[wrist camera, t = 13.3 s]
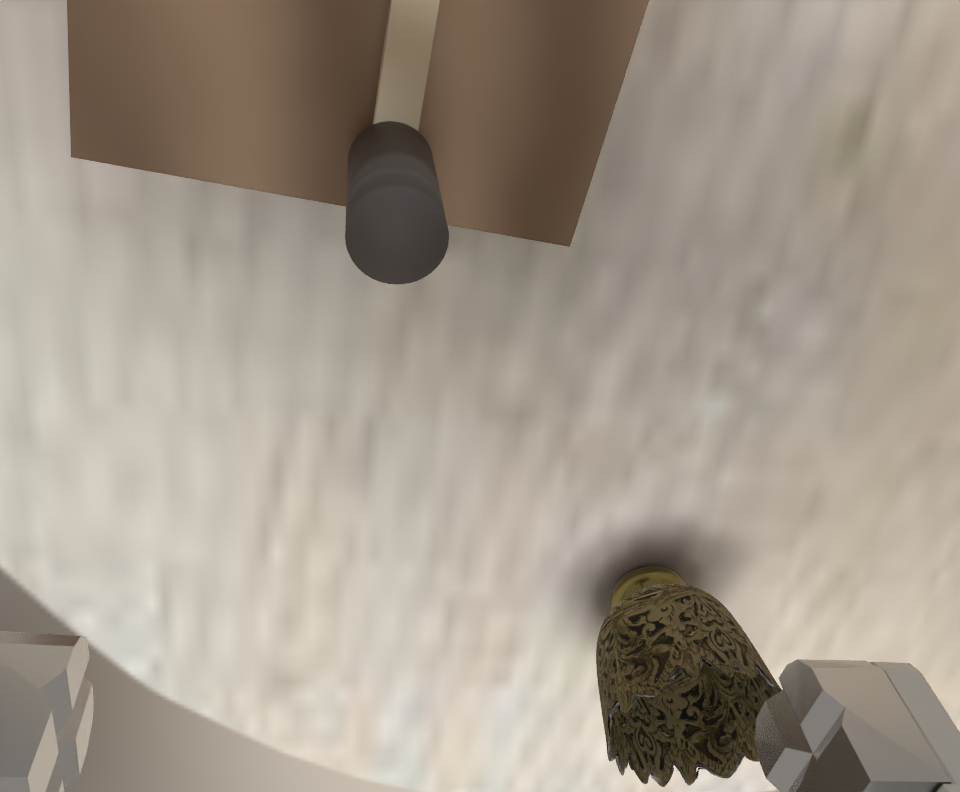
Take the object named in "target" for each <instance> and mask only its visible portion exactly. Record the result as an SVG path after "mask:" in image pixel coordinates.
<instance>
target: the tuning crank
mask: <svg viewBox="0 0 960 792" xmlns="http://www.w3.org/2000/svg"><path fill="white" fill-rule="evenodd" d="M439 3H440V0H390V4H389V11H388V19H387V26H386V33H385V41H384V48H383V55H382V63H381V70H380V77H379V84H378V92H377V99H376V106H375V114H374V121H373V125H371V126H369V127H367V128H366V129H364V130H363V131H362V132H361V133H360V134H359V135H358V136H357V137H356V139H355V140H354V141H353V143H352V145H351V148H350V151H349V155H348V171H347V202H346V232H345V239H346V246H347V250H348V252H349V255H350V257H351V259H352V261H353V262H354V263H355V265H356V266H357V267H358V268H359V269H360V270H361V271H362V272H363V273H365V274H366V275H368V276H369V277H371V278H373V279H375V280H377V281H380V282H383V283H388V284H406V283H411V282H414V281H417V280H419V279H422V278H424V277H425V276H427V275H428V274H430V273H431V272H432V271H433V270H434V269H435V268H436V267H437V266H438V265H439V264H440V262H441V261H442V259H443V257H444V255H445V253H446V250H447V247H448V240H449V232H448V226H447V221H446V217H445V212H444V207H443V202H442V198H441V193H440V188H439V183H438V178H437V174H436V169H435V164H434V159H433V155H432V151H431V148H430V146H429V144H428V142H427V141H426V139H425V138H424V137H423V136H422V135H421V134H420V133H419V132H418V129H419V123H420V117H421V111H422V105H423V99H424V93H425V87H426V81H427V75H428V69H429V63H430V57H431V51H432V45H433V39H434V33H435V27H436V21H437V15H438V9H439Z"/></svg>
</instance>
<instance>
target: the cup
mask: <svg viewBox="0 0 960 792" xmlns="http://www.w3.org/2000/svg"><path fill="white" fill-rule="evenodd" d="M596 664H597V677H598V686H599V694H600V701H601V708H602V715H603V722H604V728H605V735H606V742H607V753H608V759H609V761H613V759H615V758H616V763H617V766H618V768H619V771H620V773H621V775H624V770H625V769H626V768H627V766H628V763H629V765H630V768H631V769H632V770H634V771H635V773H636V775H637V776H638V778H639V779H640V780H641V782H642V783H644V784H647V783H648V778H649V776H650V775H651V776H652V778H653V779H654V780H655V781H656V782H657V783H658V784H659V785H660V786H662V787H665V786H666V785H667V783H668V782H669V780H670V779H671V776H672V774H673V770H674V768H673V765H675V766H676V768H677V769H678V770H679V771H680V773H681V775H682V777H683V778H684V780H685V782H686V783H687V784H688V785H691V784H692V783H693V782H694V781H695V780H696V778H698V772H699V771H697V772H696V768H697V767H702V768H698V770H699V769H704V768H705V770H706V769H707V770H708V771H709V772H710V773H711V774H713V775H716V776H718V777H721V778H730V777H731V776H732V775H733V774H734V773H735V771H736V770H737V768H738V767H739V765H740V764H741V761H742V759H743V758H744V757H745V756H746V758H748V759H749V760H751V761H755V762H756V761H759V759H758V754H757V749H756V744H755V730H756V718H757V716H758V714H759V712H760V710H761V708H762V706H763V705H764V703H765V701H766V700H768V699H769V698H771V697H773V696H774V695H776V694H777V693H779V692H781V691H782V690H781V688H780V687H779V686H778V684H777V683H776V681H775V679H774V678H773V676H772V675H771V673H770V671H769V670H768V668H767V667H766V665H765V663H764V662H763V660H762V659H761V657H760V655H759V654H758V652H757V651H756V649H755V648H754V646H753V644H752V643H751V641H750V640H749V638H748V637H747V635H746V634H745V632H744V631H743V629H742V628H741V626H740V625H739V624H738V622H737V621H736V620H735V618H734V617H733V616H732V614H731V613H730V612H729V611H728V610H727V609H726V608H725V607H724V605H722V604H721V603H720V602H719V601H718V600H717V599H715V598H714V597H713V596H711V595H710V594H708V593H706V592H704V591H702V590H700V589H698V588H695V587H692V586H688V585H687V584H686V583H685V581H684V580H683V579H682V578H681V577H680V576H679V575H678V574H677V573H675V572H674V571H672V570H670V569H668V568H666V567H662V566H646V567H641V568H638V569H635V570H633V571H631V572H629V573H627V574H626V575H625V576H623V577H622V578H621V579H620V580H619V581H618V582H617V584H616V585H615V587H614V590H613V593H612V597H611V612H610V613H609V614H608V616H607V617H606V619H605V620H604V623H603V625H602V627H601V630H600V632H599V636H598V641H597V650H596ZM678 770H677V771H678Z"/></svg>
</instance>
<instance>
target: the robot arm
mask: <svg viewBox="0 0 960 792" xmlns="http://www.w3.org/2000/svg"><path fill="white" fill-rule="evenodd" d="M88 660H89V651H88V644H87V638H86V637H84V636H69V635H53V634H36V633H19V632H3V631H0V792H64V789H65V788H66V787H67V786H68V785H69V784H70V783H72V782H73V781H74V780H75V779H76V778H77V777H78V776H79V775H80V772H81V769H82V765H83V762H84V759H85V755H86V751H87V748H88V742H89V737H90V730H91V725H92V719H93V687H92V684H91V683H90V682H88V681H87V680H86V679H85V678H84V677H83V676H84V673H85V670H86V667H87V663H88ZM779 680H780V682H781V685H782V688H783V690H782V691H781V692H779V693H777V694H776V695H774V696H773V697H771V698H769V699H768V700H766V701H765V703H764V705H763V706H762V708H761V710H760V712H759V714H758V716H757V718H756V730H755V744H756V749H757V754H758V759H759V761H760V764H761V767H762V769H763V772H764V774H765V777H766V779H767V780H768V781H769V782H771V783H772V784H773V785H774V786H775V787H776V788H777V789H778V790H779V791H780V792H960V732H959V730H958V729H957V727H956V726H955V724H954V723H953V721H952V720H951V718H950V717H949V715H948V713H947V712H946V710H945V709H944V707H943V706H942V704H941V703H940V701H939V700H938V698H937V696H936V695H935V693H934V692H933V690H932V689H931V687H930V686H929V684H928V683H927V681H926V680H925V678H924V676H923V675H922V674H921V673H920V671H919V670H917V669H916V668H915V667H913V666H912V665H911V664H910V663H889V662H867V661H850V660H798V659H797V660H795V661H794V662H792V663H790V664H788V665H787V666H786V667H785V669H784V671H783V672H782V674H781V676H780V677H779Z"/></svg>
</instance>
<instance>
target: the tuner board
mask: <svg viewBox="0 0 960 792" xmlns="http://www.w3.org/2000/svg"><path fill="white" fill-rule="evenodd" d="M648 2H649V0H440V3H439V9H438V15H437V21H436V27H435V33H434V39H433V45H432V51H431V57H430V63H429V69H428V75H427V81H426V87H425V93H424V99H423V105H422V111H421V117H420V123H419V129H418V132H419V133H420V134H421V135H422V136H423V137H424V138H425V139H426V141H427V142H428V144H429V146H430V148H431V151H432V155H433V159H434V164H435V169H436V174H437V178H438V183H439V188H440V193H441V198H442V202H443V207H444V212H445V217H446V221H447V225H452V226H458V227H463V228H469V229H474V230H480V231H486V232H491V233H497V234H502V235H508V236H513V237H519V238H524V239H530V240H536V241H541V242H547V243H552V244H558V245H563V246H569V247H570V244H571V241H572V238H573V235H574V232H575V229H576V226H577V223H578V219H579V216H580V213H581V210H582V207H583V204H584V201H585V198H586V195H587V191H588V188H589V185H590V182H591V179H592V176H593V173H594V170H595V166H596V163H597V160H598V157H599V154H600V151H601V148H602V145H603V142H604V138H605V135H606V132H607V129H608V126H609V123H610V120H611V117H612V114H613V110H614V107H615V104H616V101H617V98H618V95H619V92H620V89H621V86H622V82H623V79H624V76H625V73H626V70H627V67H628V64H629V61H630V58H631V54H632V51H633V48H634V45H635V42H636V39H637V36H638V33H639V30H640V26H641V23H642V20H643V17H644V14H645V11H646V8H647V5H648ZM389 4H390V0H67V12H68V52H69V91H70V131H71V157H74V158H80V159H85V160H91V161H96V162H102V163H107V164H113V165H119V166H124V167H130V168H135V169H141V170H146V171H152V172H157V173H163V174H169V175H174V176H180V177H185V178H191V179H196V180H202V181H207V182H213V183H219V184H224V185H230V186H235V187H241V188H246V189H252V190H258V191H263V192H269V193H274V194H280V195H285V196H291V197H296V198H302V199H308V200H313V201H319V202H324V203H330V204H335V205H341V206H346V202H347V171H348V155H349V151H350V148H351V145H352V143H353V141H354V140H355V139H356V137H357V136H358V135H359V134H360V133H361V132H362V131H363V130H364V129H366V128H367V127H369V126H371V125H373V121H374V114H375V106H376V99H377V92H378V84H379V77H380V70H381V63H382V55H383V48H384V41H385V33H386V26H387V19H388V11H389Z"/></svg>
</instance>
